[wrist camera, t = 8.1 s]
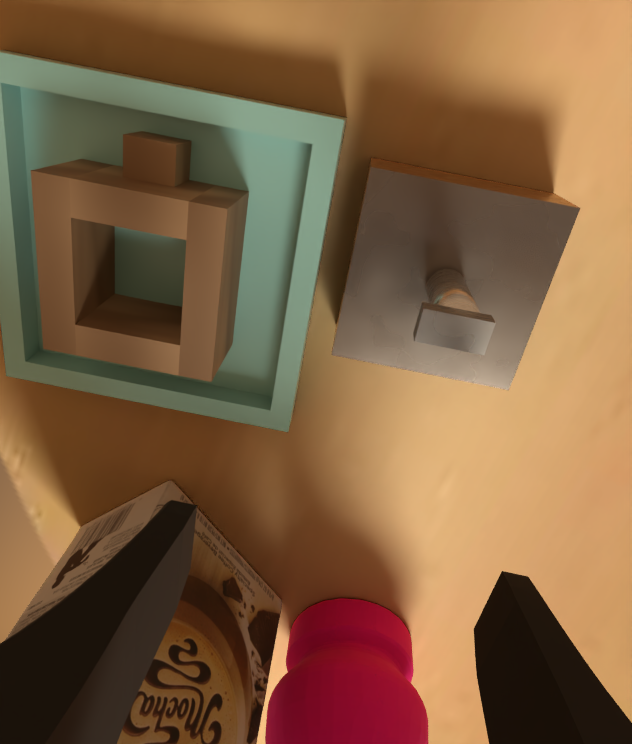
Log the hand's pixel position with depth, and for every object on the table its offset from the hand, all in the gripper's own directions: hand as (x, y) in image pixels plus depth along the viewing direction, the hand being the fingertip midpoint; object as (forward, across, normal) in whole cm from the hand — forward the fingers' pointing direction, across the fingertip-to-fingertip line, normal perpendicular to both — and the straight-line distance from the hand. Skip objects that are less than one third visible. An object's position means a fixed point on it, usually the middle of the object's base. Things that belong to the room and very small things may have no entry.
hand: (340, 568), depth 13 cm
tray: (+10, +8, -3) cm, 13 cm away
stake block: (+10, -2, -5) cm, 11 cm away
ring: (+9, +8, -3) cm, 12 cm away
